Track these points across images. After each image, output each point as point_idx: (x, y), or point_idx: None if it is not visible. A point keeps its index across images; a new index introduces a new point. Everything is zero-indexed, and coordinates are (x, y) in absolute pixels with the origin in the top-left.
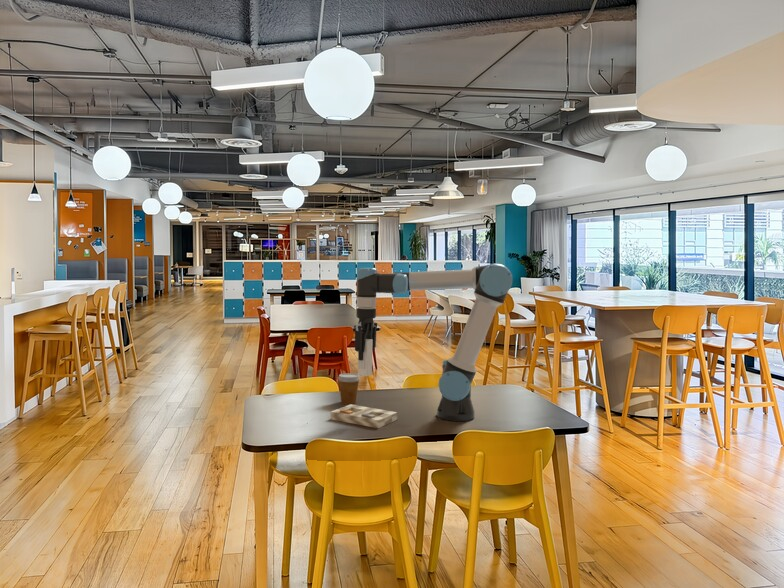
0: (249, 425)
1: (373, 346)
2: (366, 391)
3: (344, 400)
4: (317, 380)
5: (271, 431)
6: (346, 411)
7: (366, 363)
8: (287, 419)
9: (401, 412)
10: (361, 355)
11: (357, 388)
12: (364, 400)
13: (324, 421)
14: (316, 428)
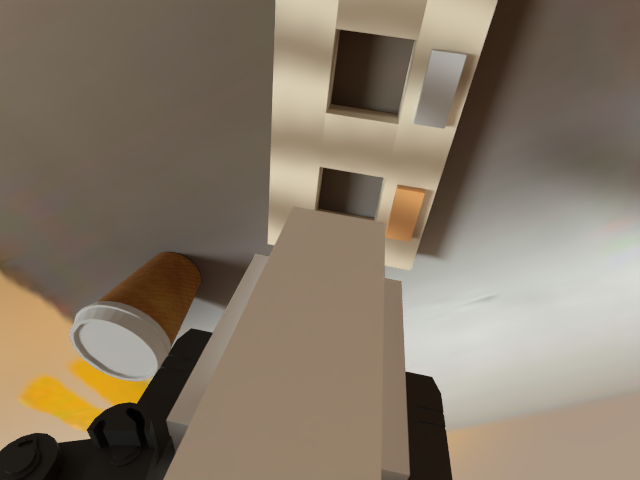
0: (557, 410)
1: (54, 475)
2: (20, 270)
3: (196, 286)
4: (53, 402)
5: (620, 353)
6: (416, 212)
7: (383, 307)
8: (461, 356)
9: (151, 13)
10: (447, 447)
11: (130, 282)
12: (114, 237)
13: (446, 260)
14: (554, 252)
